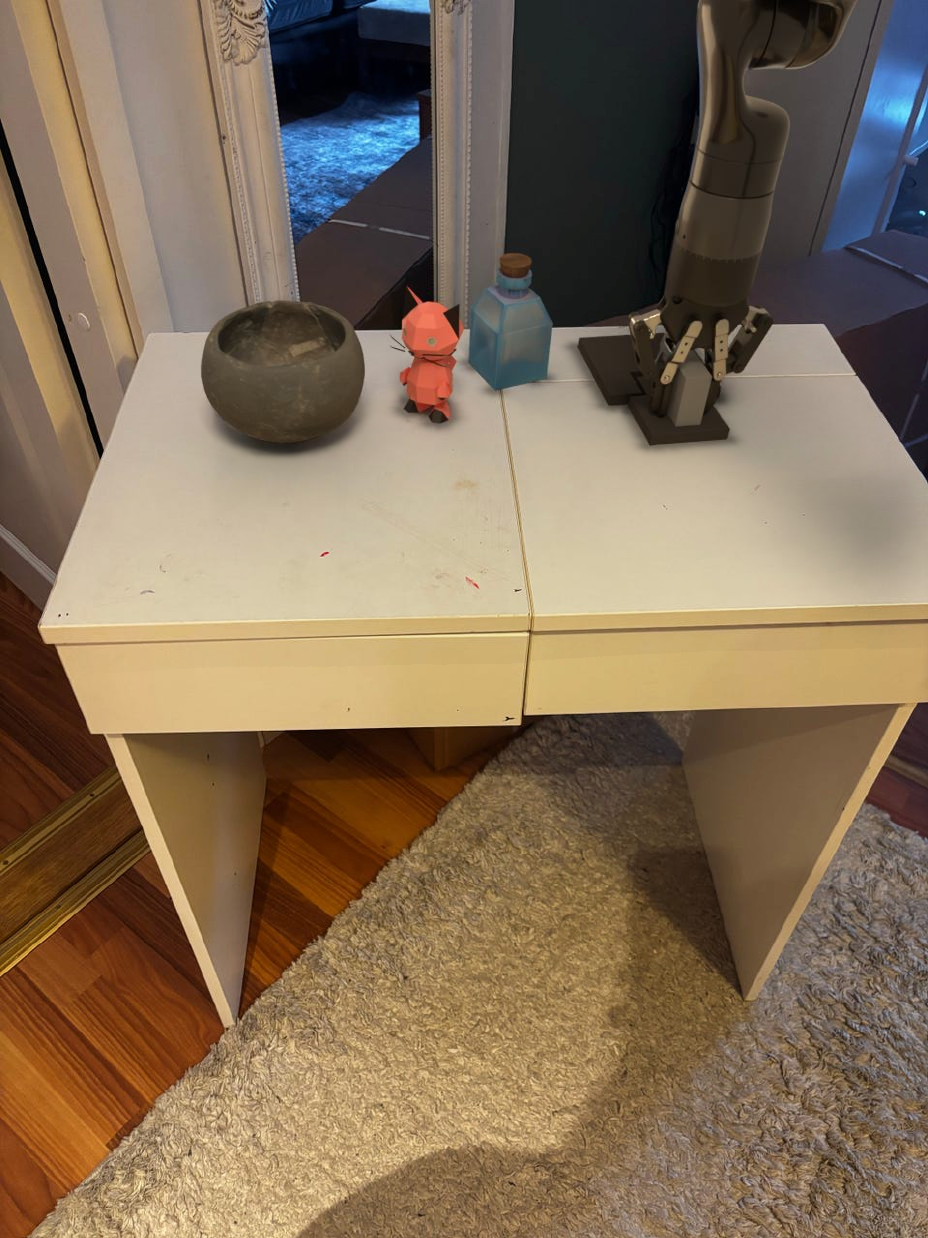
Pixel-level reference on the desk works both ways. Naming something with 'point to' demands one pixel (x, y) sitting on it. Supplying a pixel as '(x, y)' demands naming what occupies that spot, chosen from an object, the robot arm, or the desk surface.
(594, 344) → the notch pad
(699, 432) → the tab pad
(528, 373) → the perfume bottle
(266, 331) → the bowl
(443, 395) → the cat figurine
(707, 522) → the desk surface
